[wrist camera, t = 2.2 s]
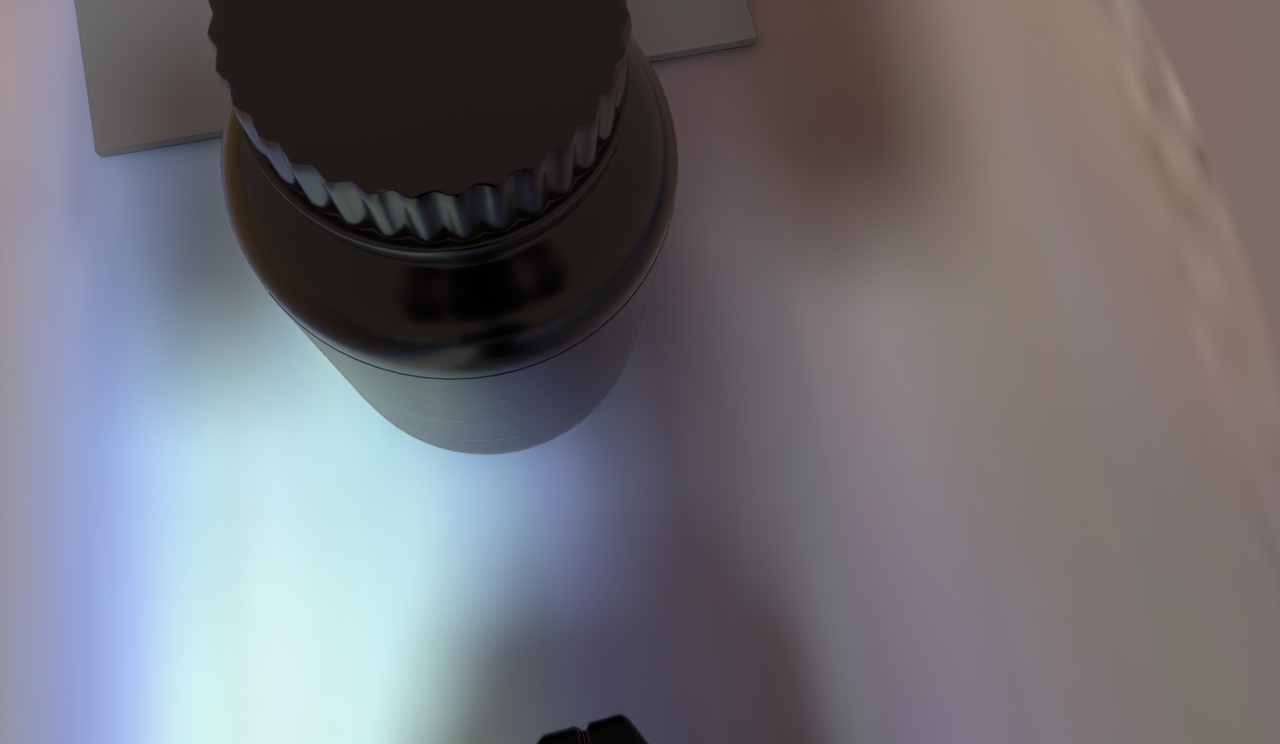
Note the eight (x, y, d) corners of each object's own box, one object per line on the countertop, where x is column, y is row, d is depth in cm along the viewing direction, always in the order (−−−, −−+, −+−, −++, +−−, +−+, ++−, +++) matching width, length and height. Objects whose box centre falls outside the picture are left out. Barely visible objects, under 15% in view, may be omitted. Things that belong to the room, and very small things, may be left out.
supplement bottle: (694, 326, 23) (847, 51, 11) (472, 521, 21) (380, 439, 10) (504, 122, 23) (459, -339, 12) (277, 297, 22) (-32, -32, 10)
